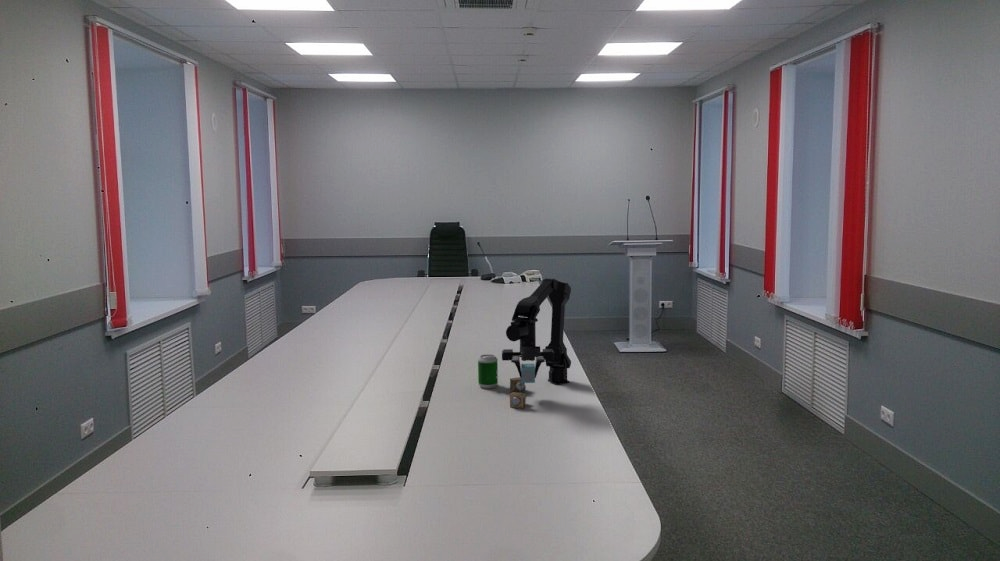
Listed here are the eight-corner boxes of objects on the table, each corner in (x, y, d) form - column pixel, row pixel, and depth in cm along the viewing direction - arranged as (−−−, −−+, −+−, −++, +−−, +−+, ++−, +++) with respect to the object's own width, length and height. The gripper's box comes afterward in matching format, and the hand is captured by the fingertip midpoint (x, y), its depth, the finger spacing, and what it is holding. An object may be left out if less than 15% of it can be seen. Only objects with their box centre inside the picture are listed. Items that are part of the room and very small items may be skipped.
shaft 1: (508, 389, 248) (508, 377, 247) (521, 388, 250) (520, 376, 249) (516, 395, 241) (515, 382, 241) (528, 393, 243) (528, 380, 242)
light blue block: (521, 377, 239) (521, 363, 239) (534, 377, 239) (534, 363, 238) (521, 383, 233) (521, 368, 232) (534, 383, 233) (534, 368, 232)
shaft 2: (521, 410, 225) (521, 396, 224) (508, 408, 227) (508, 395, 226) (529, 403, 231) (528, 390, 230) (516, 402, 233) (515, 389, 232)
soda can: (495, 389, 248) (495, 359, 246) (476, 388, 250) (475, 358, 248) (499, 383, 255) (499, 354, 254) (481, 383, 257) (480, 353, 255)
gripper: (501, 341, 226) (501, 384, 228) (554, 340, 226) (555, 384, 228) (501, 334, 237) (502, 375, 239) (553, 333, 237) (553, 375, 239)
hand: (528, 377), depth 236 cm, fingers closed on light blue block, 5 cm apart
